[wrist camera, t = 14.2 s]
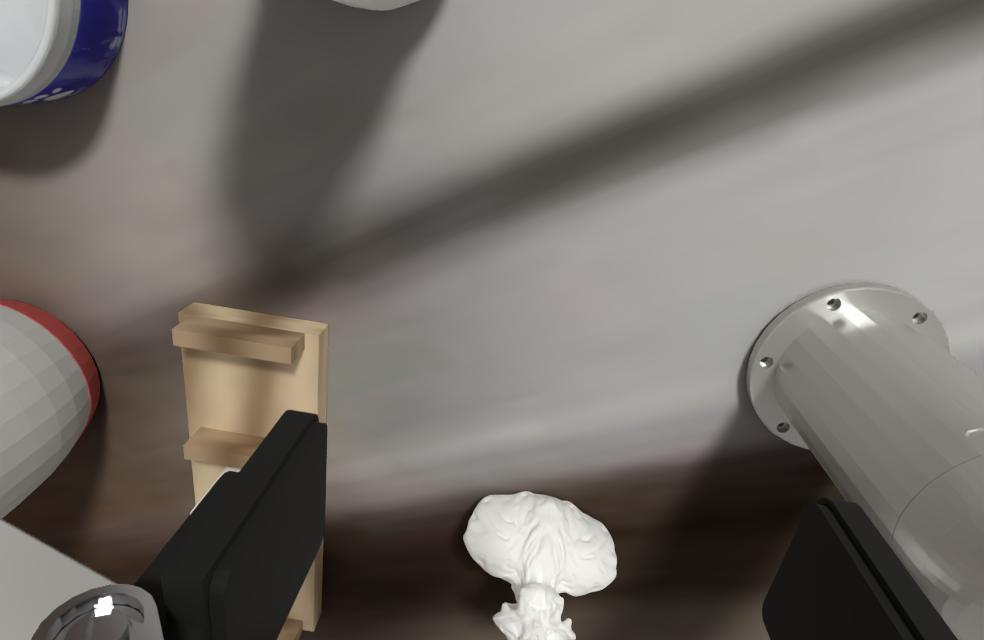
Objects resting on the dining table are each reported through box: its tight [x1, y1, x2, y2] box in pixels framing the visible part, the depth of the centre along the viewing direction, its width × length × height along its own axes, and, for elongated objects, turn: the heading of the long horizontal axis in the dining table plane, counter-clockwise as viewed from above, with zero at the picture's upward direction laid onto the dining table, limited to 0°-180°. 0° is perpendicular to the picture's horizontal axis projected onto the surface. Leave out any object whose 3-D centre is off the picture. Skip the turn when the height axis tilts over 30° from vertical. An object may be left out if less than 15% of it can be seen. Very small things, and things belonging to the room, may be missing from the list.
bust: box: [463, 491, 617, 640], centre depth 43 cm, size 12×8×11 cm
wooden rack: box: [172, 302, 329, 640], centre depth 46 cm, size 10×30×4 cm, turn 172°
